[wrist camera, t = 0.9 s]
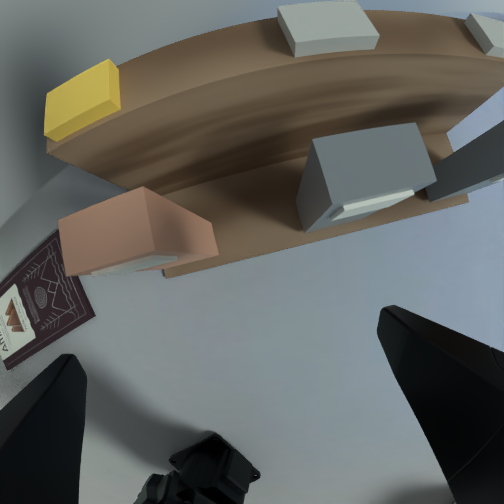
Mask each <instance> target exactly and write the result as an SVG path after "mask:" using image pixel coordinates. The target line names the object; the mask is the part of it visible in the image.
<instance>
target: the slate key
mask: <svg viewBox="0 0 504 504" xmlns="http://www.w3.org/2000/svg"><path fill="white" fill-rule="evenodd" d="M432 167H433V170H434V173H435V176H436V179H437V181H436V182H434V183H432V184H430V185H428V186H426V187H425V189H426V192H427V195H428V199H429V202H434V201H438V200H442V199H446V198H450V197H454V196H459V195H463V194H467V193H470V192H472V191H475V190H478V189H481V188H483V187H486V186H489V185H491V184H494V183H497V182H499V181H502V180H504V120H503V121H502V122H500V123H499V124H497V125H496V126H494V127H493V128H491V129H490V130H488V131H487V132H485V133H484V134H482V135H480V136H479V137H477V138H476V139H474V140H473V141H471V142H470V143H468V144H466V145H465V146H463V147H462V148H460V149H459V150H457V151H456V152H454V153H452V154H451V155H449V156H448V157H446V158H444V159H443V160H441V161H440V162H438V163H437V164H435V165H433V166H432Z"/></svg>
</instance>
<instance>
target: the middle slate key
mask: <svg viewBox="0 0 504 504" xmlns="http://www.w3.org/2000/svg"><path fill="white" fill-rule="evenodd" d="M436 181H437V179H436V176H435V173H434V170H433V167H432V164H431V161H430V158H429V155H428V153H427V150H426V147H425V144H424V142H423V139H422V137H421V134H420V132H419V129H418V127H417V124H416V123H407V124H399V125H392V126H384V127H377V128H371V129H365V130H358V131H353V132H347V133H341V134H336V135H330V136H325V137H320V138H315V139H312V142H311V146H310V149H309V153H308V157H307V161H306V164H305V168H304V172H303V175H302V179H301V183H300V186H299V190H298V193H297V197H296V201H295V202H296V205H297V209H298V213H299V216H300V220H301V224H302V228H303V232H304V233H308V232H312V231H316V230H320V229H324V228H328V227H332V226H336V225H340V224H345V223H349V222H353V221H357V220H361V219H363V218H365V217H367V216H369V215H371V214H373V213H375V212H377V211H379V210H381V209H383V208H387V207H390V206H392V205H394V204H396V203H398V202H400V201H402V200H404V199H406V198H408V197H410V196H412V195H414V192H416V191H418V190H420V189H422V188H424V187H426V186H428V185H430V184H432V183H434V182H436Z"/></svg>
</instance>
